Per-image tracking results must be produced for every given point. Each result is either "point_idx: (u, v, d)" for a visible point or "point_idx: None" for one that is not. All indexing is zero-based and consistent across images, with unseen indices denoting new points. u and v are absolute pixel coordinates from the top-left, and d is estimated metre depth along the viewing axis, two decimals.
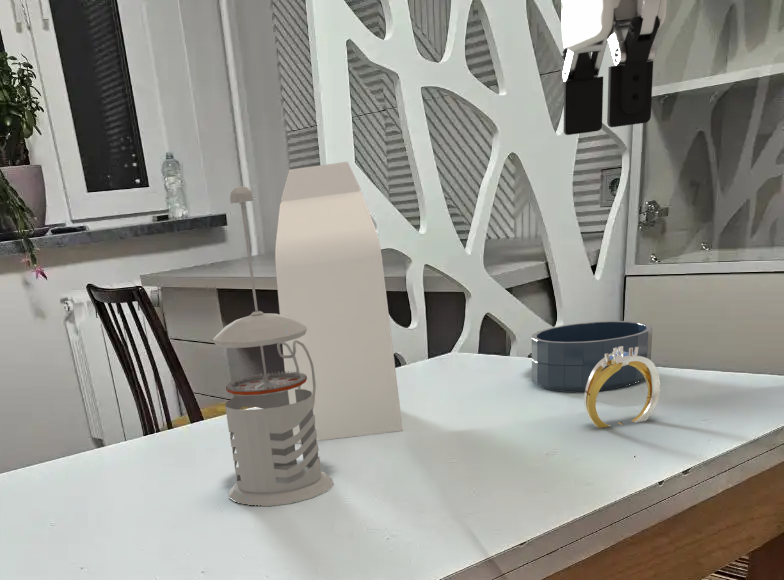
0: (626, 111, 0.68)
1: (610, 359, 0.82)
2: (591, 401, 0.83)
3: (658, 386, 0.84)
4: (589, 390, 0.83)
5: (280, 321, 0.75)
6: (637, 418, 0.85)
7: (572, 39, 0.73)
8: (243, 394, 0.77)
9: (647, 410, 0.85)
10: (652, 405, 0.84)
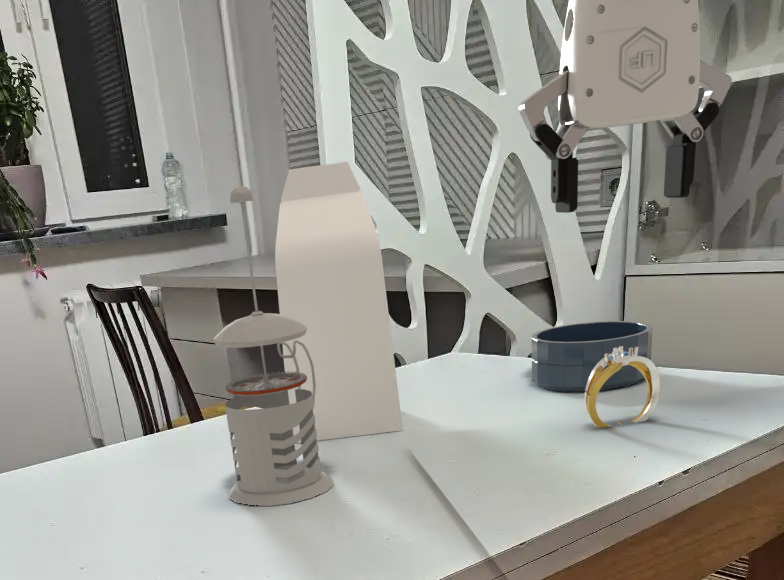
0: None
1: (610, 359, 0.82)
2: (591, 401, 0.83)
3: (658, 386, 0.84)
4: (589, 390, 0.83)
5: (280, 321, 0.75)
6: (637, 418, 0.85)
7: None
8: (243, 394, 0.77)
9: (647, 410, 0.85)
10: (652, 405, 0.84)
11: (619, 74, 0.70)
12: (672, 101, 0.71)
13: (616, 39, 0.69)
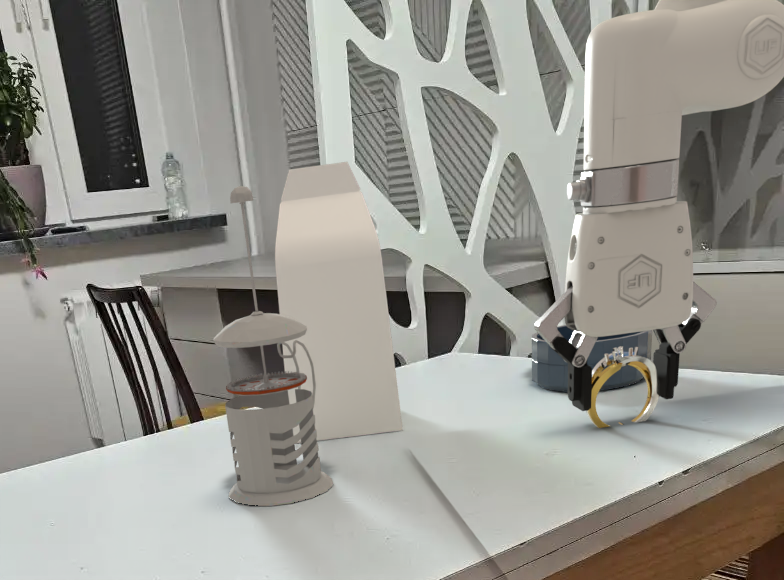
0: None
1: (610, 359, 0.82)
2: None
3: (658, 386, 0.84)
4: None
5: (281, 321, 0.75)
6: (637, 418, 0.85)
7: None
8: (243, 394, 0.77)
9: (647, 410, 0.85)
10: (652, 405, 0.84)
11: (618, 293, 0.77)
12: (667, 314, 0.78)
13: (615, 265, 0.76)
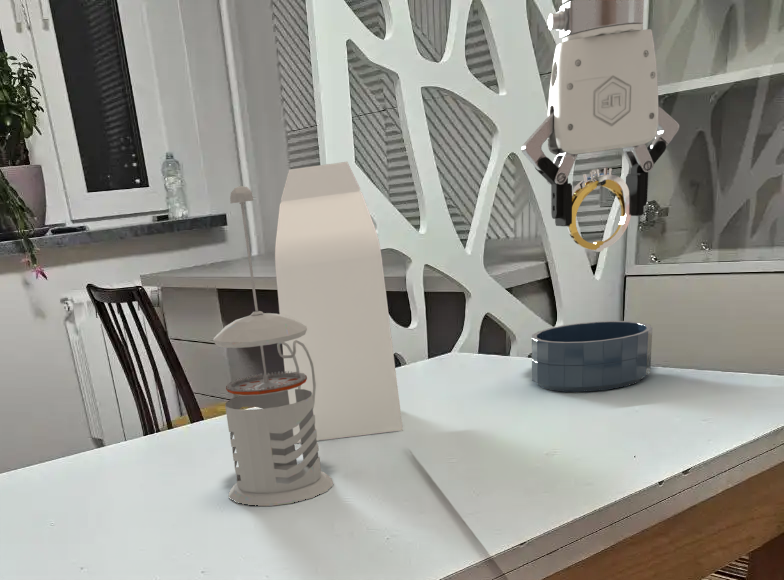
0: None
1: (588, 179, 0.94)
2: None
3: (630, 205, 0.96)
4: None
5: (280, 321, 0.75)
6: (612, 236, 0.97)
7: None
8: (243, 394, 0.77)
9: (621, 228, 0.97)
10: (625, 223, 0.96)
11: (593, 112, 0.89)
12: (636, 132, 0.90)
13: (590, 85, 0.88)
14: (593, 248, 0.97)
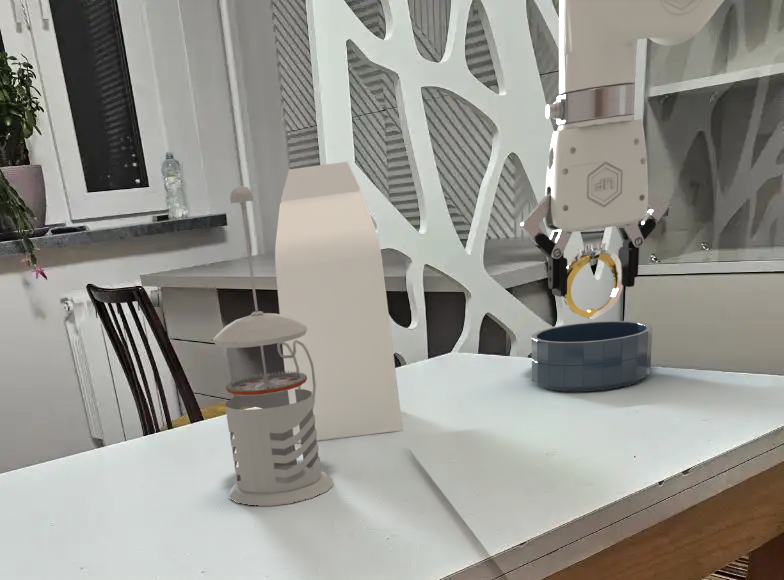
0: None
1: (582, 253, 1.01)
2: (567, 289, 1.02)
3: (622, 277, 1.02)
4: None
5: (281, 321, 0.75)
6: (606, 304, 1.04)
7: None
8: (243, 394, 0.77)
9: (613, 297, 1.03)
10: (617, 293, 1.03)
11: (587, 195, 0.96)
12: (627, 213, 0.97)
13: (584, 171, 0.95)
14: (587, 316, 1.04)
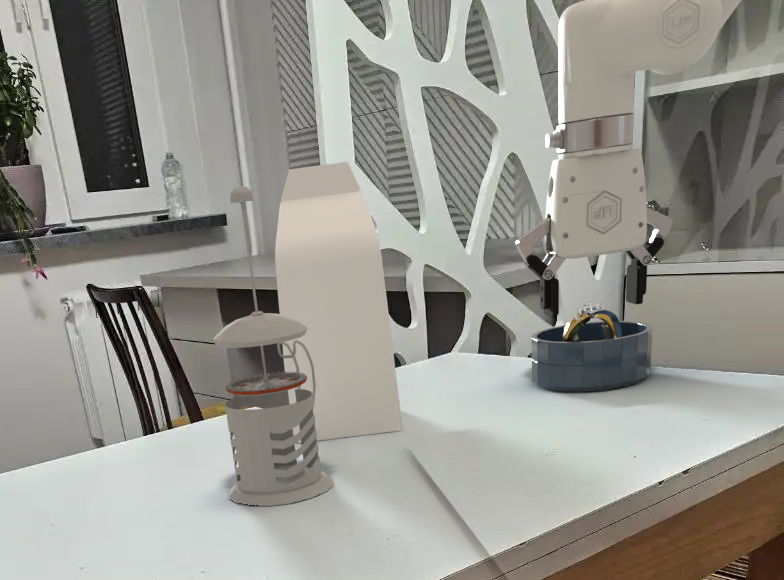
0: None
1: (582, 312, 1.03)
2: None
3: (620, 335, 1.05)
4: (565, 338, 1.04)
5: (281, 321, 0.75)
6: None
7: None
8: (243, 394, 0.77)
9: None
10: None
11: (587, 222, 0.97)
12: (626, 240, 0.98)
13: (584, 199, 0.96)
14: None
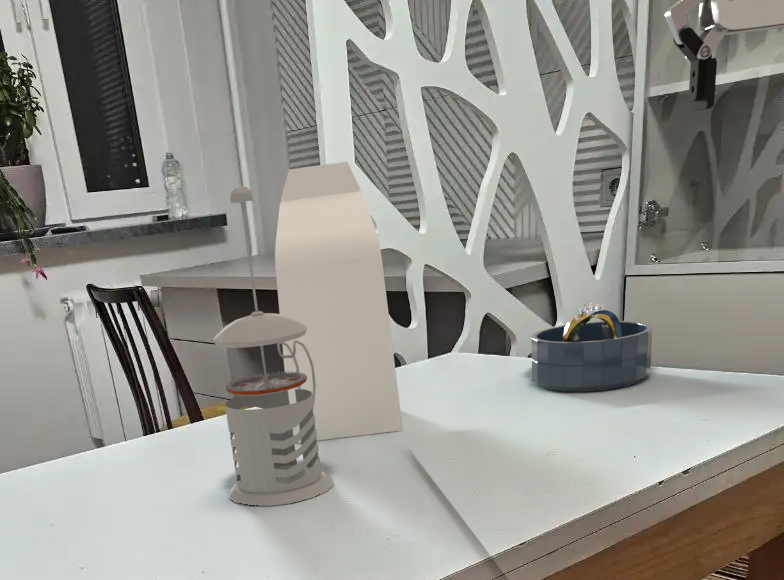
0: None
1: (582, 312, 1.03)
2: None
3: (620, 335, 1.05)
4: (565, 337, 1.04)
5: (281, 321, 0.75)
6: None
7: None
8: (243, 394, 0.77)
9: None
10: None
11: None
12: None
13: None
14: None
